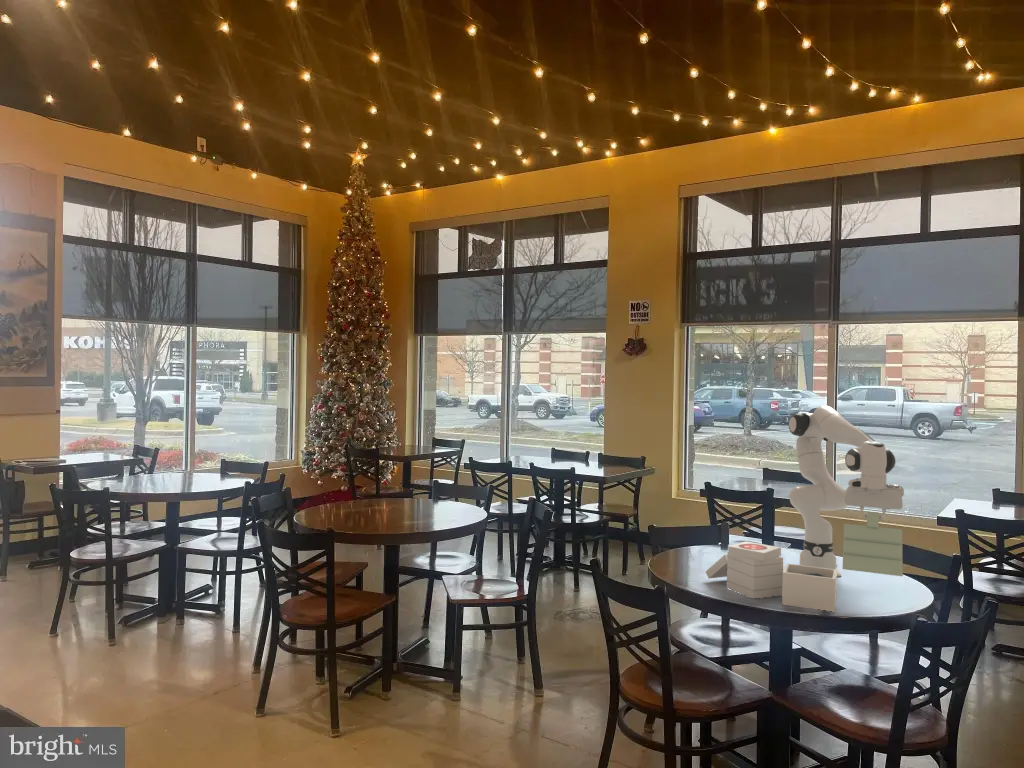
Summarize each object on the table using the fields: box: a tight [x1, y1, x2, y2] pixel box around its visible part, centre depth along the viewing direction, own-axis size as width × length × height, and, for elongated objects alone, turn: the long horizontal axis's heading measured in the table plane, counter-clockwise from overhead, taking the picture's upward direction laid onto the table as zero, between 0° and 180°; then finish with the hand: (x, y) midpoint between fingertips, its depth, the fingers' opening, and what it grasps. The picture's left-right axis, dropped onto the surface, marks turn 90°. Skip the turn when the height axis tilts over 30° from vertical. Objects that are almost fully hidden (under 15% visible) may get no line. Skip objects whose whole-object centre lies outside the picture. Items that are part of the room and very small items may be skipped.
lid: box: [842, 511, 904, 577], centre depth 270 cm, size 24×20×4 cm
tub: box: [781, 563, 838, 613], centre depth 268 cm, size 16×18×12 cm
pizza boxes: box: [705, 541, 784, 600], centre depth 286 cm, size 19×30×18 cm, turn 24°
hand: (872, 518), depth 274 cm, fingers closed on lid, 4 cm apart
